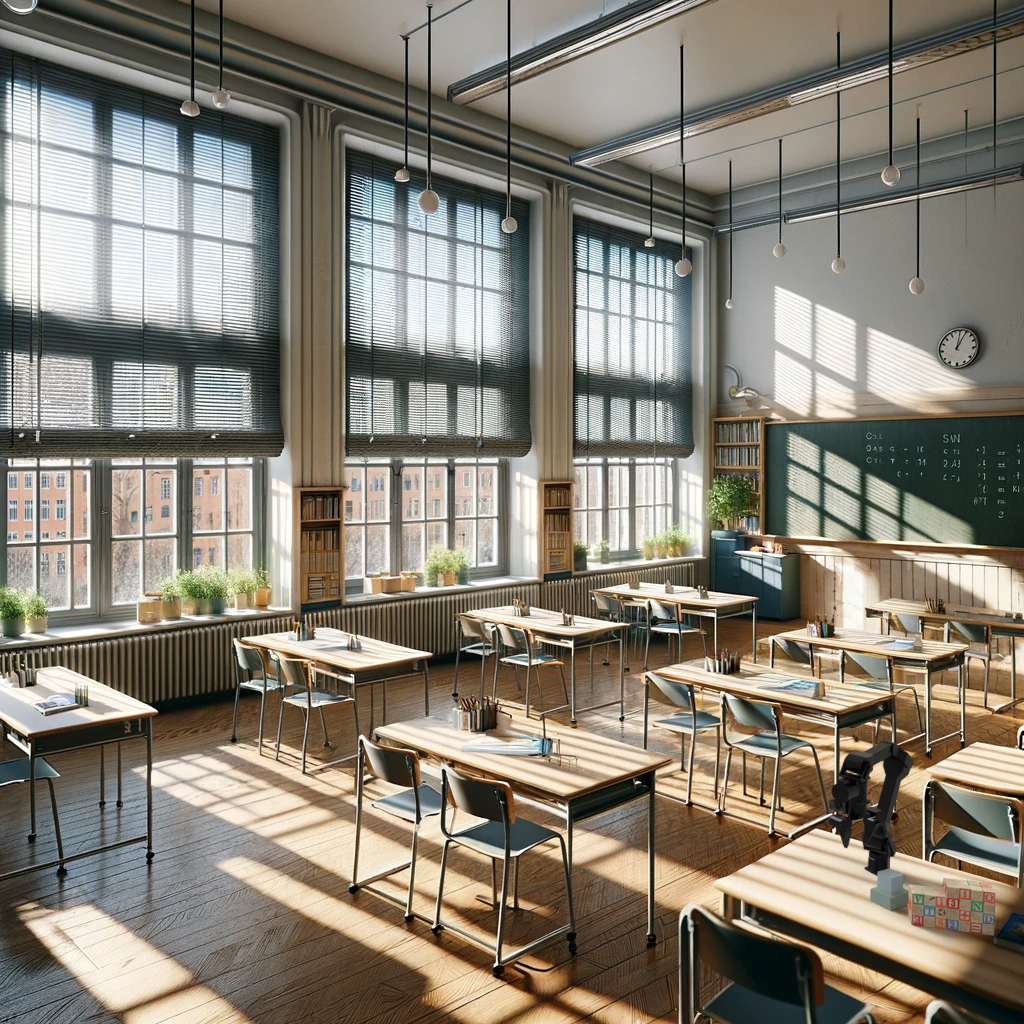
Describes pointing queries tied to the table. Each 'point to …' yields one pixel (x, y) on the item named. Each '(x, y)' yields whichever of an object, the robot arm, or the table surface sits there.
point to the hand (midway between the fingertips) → (856, 845)
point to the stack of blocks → (954, 906)
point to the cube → (890, 881)
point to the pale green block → (889, 898)
